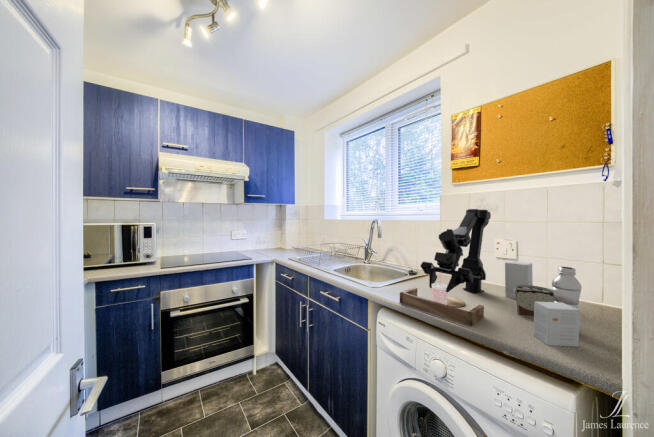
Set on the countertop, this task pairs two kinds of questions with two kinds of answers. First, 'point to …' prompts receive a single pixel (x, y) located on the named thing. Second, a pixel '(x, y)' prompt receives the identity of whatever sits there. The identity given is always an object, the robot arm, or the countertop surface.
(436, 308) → the walnut bay
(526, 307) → the food container
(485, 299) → the countertop surface
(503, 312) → the countertop surface
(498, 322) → the countertop surface
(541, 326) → the small box
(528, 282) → the skincare box
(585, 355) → the countertop surface
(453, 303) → the cork coaster
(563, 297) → the plastic bottle
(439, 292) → the beverage cup
